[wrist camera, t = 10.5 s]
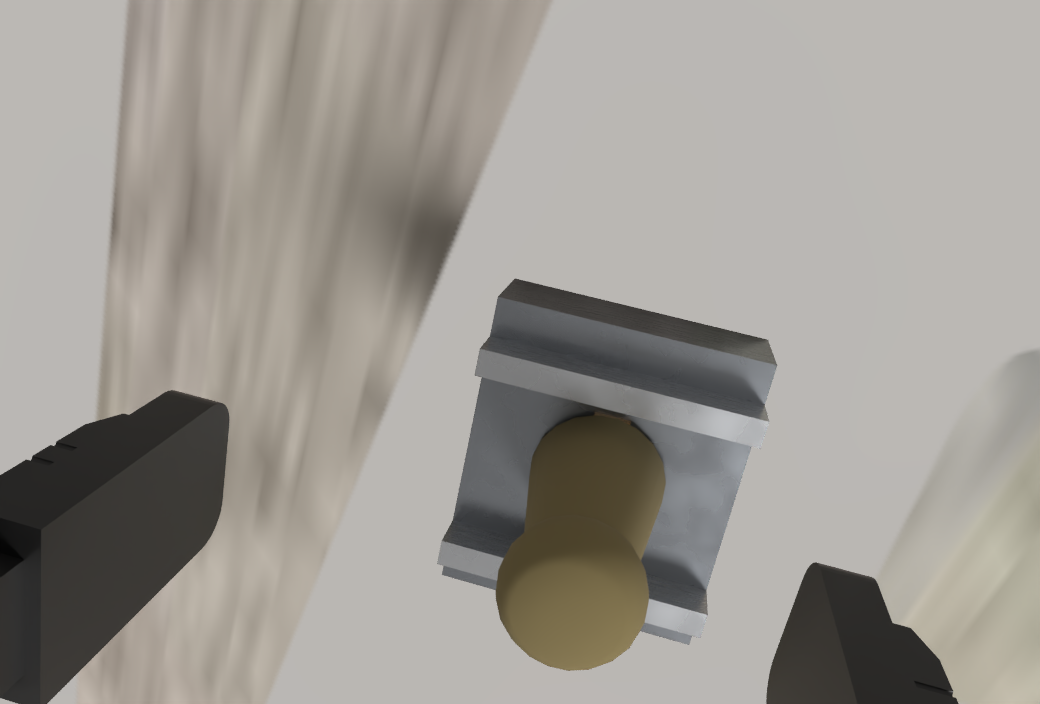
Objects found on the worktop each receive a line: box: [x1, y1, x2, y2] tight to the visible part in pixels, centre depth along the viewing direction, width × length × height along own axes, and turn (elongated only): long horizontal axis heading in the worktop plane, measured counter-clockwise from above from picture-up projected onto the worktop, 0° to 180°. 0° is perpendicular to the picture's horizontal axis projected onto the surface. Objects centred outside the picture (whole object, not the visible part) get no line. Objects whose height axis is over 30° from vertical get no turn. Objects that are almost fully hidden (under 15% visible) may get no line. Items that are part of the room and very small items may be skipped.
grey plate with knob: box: [437, 279, 777, 645], centre depth 39 cm, size 14×12×6 cm
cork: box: [496, 415, 666, 671], centre depth 33 cm, size 6×6×11 cm
